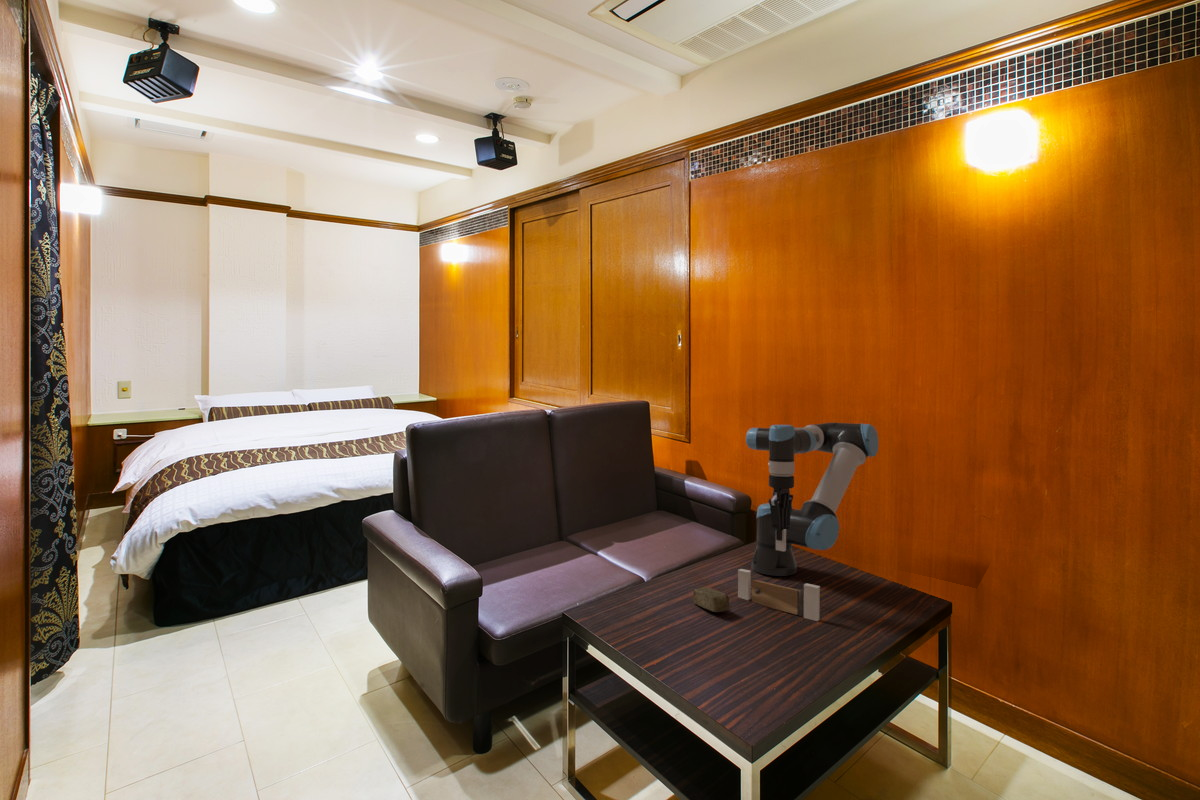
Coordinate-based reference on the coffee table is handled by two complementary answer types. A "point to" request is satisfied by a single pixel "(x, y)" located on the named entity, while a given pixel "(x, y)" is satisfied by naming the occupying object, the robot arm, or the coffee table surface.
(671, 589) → the coffee table surface
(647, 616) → the coffee table surface
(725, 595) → the stone block
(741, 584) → the wall frame
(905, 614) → the coffee table surface
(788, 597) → the door
